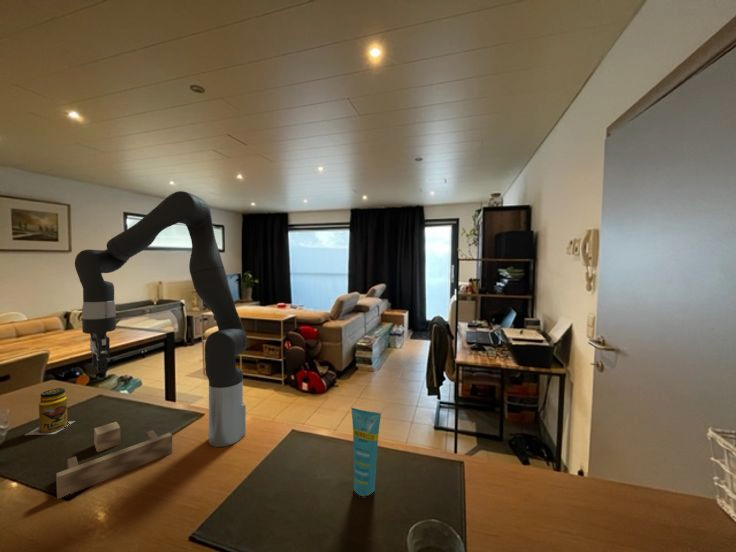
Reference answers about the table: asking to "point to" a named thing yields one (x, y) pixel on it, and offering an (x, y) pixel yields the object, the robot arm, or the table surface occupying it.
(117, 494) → the table surface
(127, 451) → the wooden plank
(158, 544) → the table surface
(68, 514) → the table surface
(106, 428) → the block
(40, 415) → the condiment
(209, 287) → the robot arm
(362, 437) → the tube
